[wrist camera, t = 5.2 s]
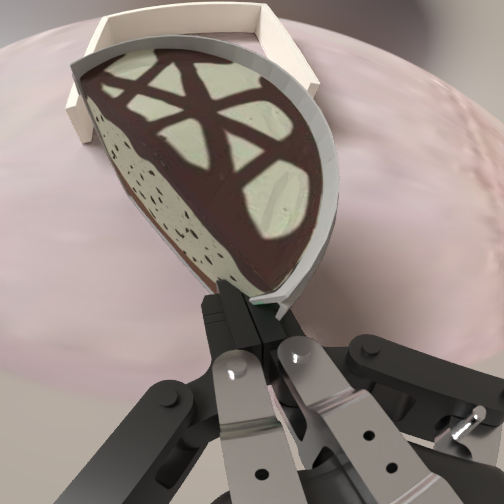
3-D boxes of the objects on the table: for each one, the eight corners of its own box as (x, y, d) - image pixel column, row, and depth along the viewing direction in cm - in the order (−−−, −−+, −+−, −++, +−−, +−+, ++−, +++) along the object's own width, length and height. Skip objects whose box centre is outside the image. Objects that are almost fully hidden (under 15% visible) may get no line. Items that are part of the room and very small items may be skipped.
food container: (313, 256, 17) (419, 174, 8) (241, 327, 15) (303, 316, 6) (187, 132, 18) (188, 8, 9) (115, 180, 16) (66, 60, 7)
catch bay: (82, 143, 17) (65, 108, 13) (107, 43, 21) (102, 16, 17) (303, 118, 21) (320, 83, 17) (259, 30, 24) (266, 3, 21)
